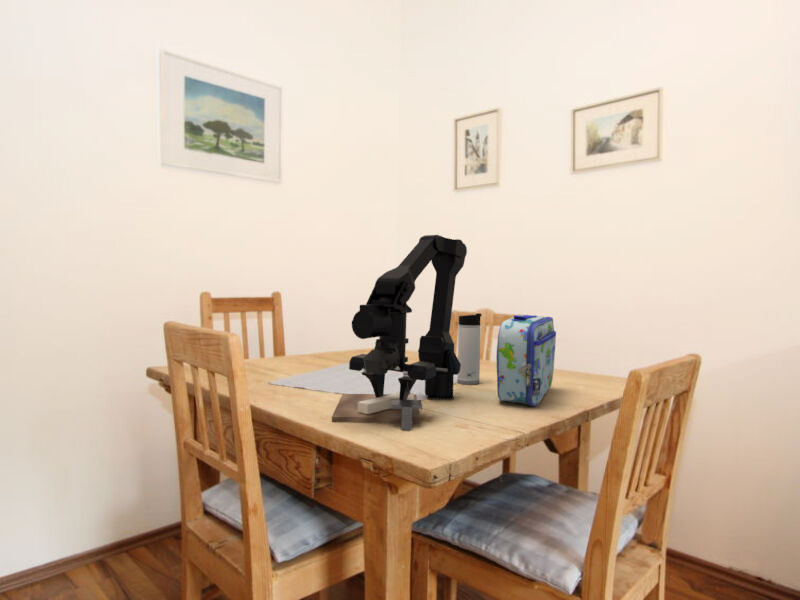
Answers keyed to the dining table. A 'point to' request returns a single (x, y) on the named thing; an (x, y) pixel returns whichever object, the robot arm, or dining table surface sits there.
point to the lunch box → (525, 358)
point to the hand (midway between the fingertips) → (390, 405)
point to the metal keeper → (406, 411)
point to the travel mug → (469, 349)
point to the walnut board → (349, 413)
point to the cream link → (379, 403)
